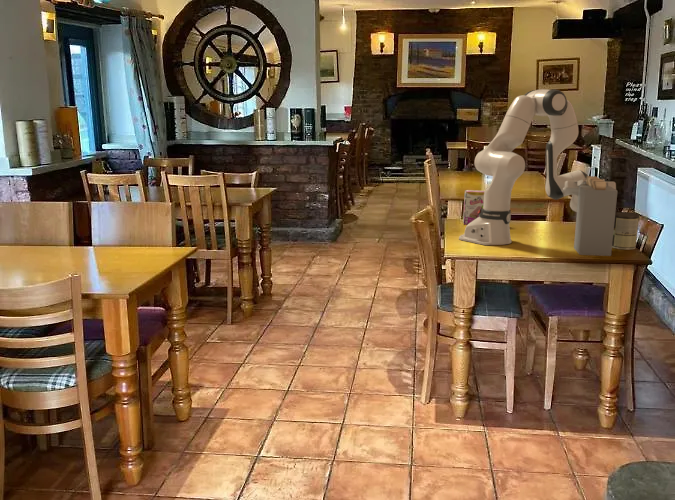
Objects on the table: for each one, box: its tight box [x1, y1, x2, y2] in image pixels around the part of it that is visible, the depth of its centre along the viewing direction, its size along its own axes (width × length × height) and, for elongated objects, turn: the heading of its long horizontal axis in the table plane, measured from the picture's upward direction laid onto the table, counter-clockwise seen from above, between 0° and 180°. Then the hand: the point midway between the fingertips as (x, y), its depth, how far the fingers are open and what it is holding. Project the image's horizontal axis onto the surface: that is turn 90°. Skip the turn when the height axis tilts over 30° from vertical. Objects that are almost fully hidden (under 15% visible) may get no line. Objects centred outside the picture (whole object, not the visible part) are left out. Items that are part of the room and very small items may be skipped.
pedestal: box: [573, 186, 618, 257], centre depth 268 cm, size 12×12×26 cm
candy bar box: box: [462, 189, 485, 226], centre depth 325 cm, size 11×5×16 cm, turn 84°
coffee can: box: [612, 211, 640, 251], centre depth 278 cm, size 10×10×14 cm
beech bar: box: [586, 175, 606, 190], centre depth 269 cm, size 19×4×3 cm, turn 171°
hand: (593, 180), depth 273 cm, fingers open, 6 cm apart
